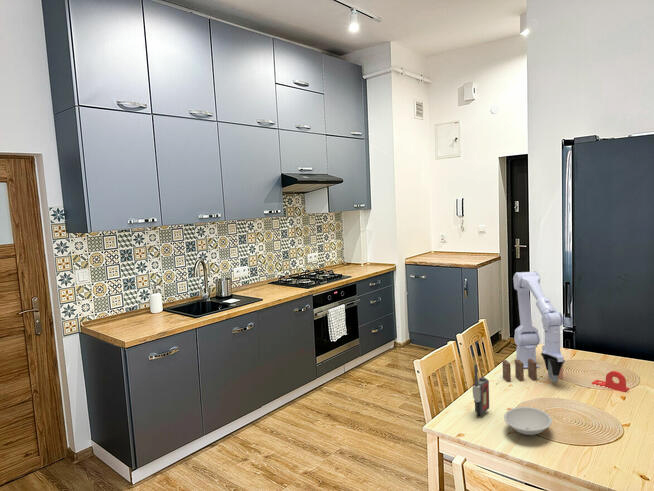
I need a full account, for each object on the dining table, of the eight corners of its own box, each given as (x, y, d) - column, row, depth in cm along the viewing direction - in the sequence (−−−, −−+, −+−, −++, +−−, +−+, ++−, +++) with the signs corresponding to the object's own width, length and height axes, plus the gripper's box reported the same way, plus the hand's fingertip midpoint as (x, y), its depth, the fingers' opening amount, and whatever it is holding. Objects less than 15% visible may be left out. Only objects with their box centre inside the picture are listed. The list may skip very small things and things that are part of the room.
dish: (513, 416, 160) (513, 402, 160) (557, 427, 151) (557, 413, 151) (497, 437, 147) (496, 423, 147) (544, 450, 138) (543, 435, 137)
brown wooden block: (507, 382, 190) (506, 364, 189) (502, 377, 195) (502, 360, 194) (510, 382, 190) (510, 364, 189) (506, 377, 195) (506, 360, 194)
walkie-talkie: (479, 420, 159) (477, 366, 157) (467, 416, 162) (466, 363, 160) (490, 411, 165) (488, 359, 163) (478, 408, 168) (477, 356, 166)
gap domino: (553, 382, 182) (553, 363, 182) (548, 377, 187) (547, 358, 187) (557, 381, 182) (557, 363, 182) (551, 377, 187) (551, 358, 186)
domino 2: (533, 381, 190) (532, 363, 189) (528, 376, 195) (527, 359, 194) (536, 381, 190) (536, 362, 189) (531, 376, 195) (531, 358, 194)
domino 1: (520, 381, 190) (519, 363, 189) (515, 377, 195) (515, 359, 194) (523, 381, 190) (523, 363, 189) (519, 377, 195) (518, 359, 194)
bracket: (629, 390, 176) (629, 371, 175) (624, 394, 173) (624, 374, 172) (596, 382, 185) (596, 363, 185) (591, 385, 183) (591, 366, 182)
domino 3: (559, 380, 189) (558, 362, 188) (553, 375, 194) (553, 358, 193) (563, 380, 189) (562, 361, 188) (557, 375, 194) (557, 357, 193)
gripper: (534, 336, 191) (535, 366, 192) (550, 346, 176) (551, 379, 177) (551, 335, 190) (552, 366, 192) (568, 346, 176) (569, 379, 177)
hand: (552, 372), depth 184 cm, fingers closed on gap domino, 5 cm apart
